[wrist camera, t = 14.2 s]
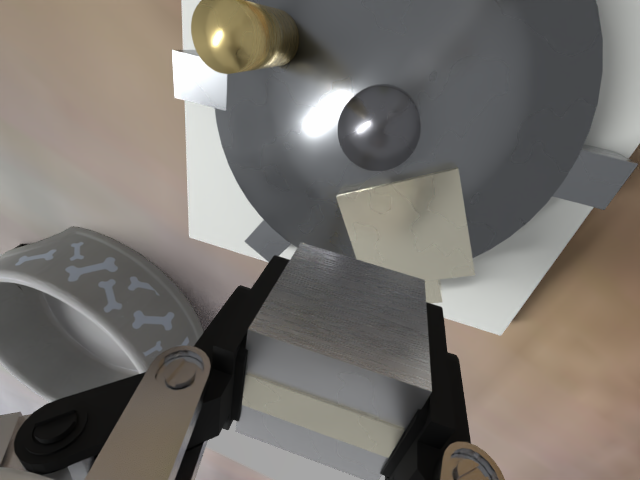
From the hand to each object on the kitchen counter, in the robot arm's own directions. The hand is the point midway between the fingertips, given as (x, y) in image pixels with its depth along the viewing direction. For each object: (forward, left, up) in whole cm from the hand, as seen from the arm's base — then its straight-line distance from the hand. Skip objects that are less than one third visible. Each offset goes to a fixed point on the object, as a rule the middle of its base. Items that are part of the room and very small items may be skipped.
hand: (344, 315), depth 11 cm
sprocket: (+1, -5, -7) cm, 8 cm away
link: (0, 0, 0) cm, 1 cm away
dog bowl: (+19, +17, -9) cm, 27 cm away
